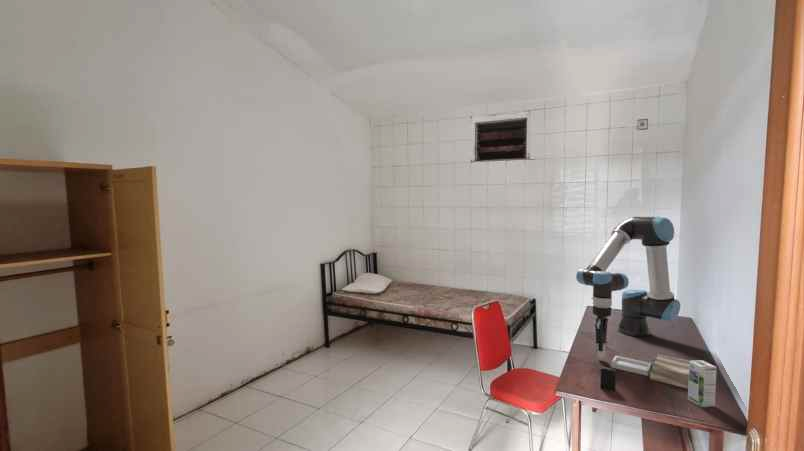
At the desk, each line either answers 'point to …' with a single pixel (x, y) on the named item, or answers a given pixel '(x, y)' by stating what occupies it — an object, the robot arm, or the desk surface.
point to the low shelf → (670, 370)
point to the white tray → (631, 365)
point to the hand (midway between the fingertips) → (601, 357)
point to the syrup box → (702, 383)
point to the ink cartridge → (608, 378)
